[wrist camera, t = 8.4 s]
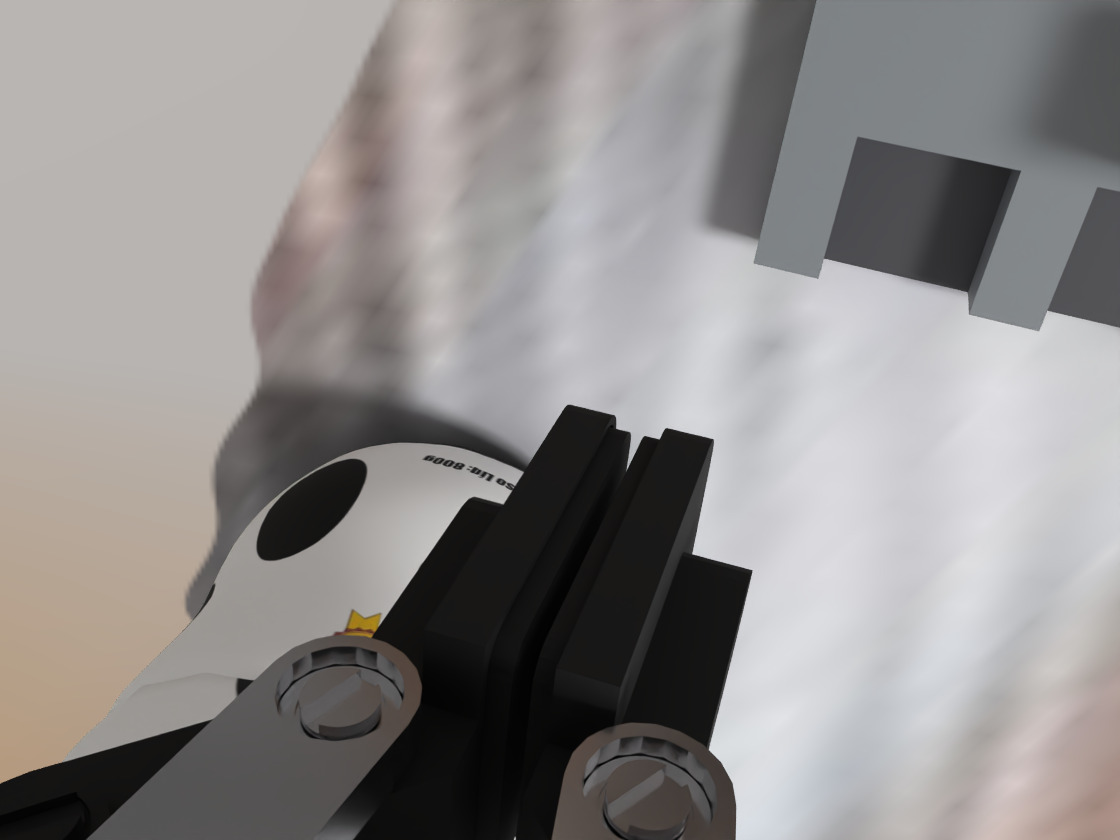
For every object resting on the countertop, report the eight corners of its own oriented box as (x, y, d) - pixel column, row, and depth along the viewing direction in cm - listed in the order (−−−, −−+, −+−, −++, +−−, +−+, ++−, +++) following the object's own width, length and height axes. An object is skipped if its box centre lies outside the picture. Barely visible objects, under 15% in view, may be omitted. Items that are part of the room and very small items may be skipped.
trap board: (854, -139, 29) (844, -134, 26) (1473, -40, 26) (1540, -21, 23) (763, 241, 35) (745, 280, 32) (1261, 358, 32) (1293, 412, 29)
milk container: (742, 537, 40) (621, 962, 25) (584, 798, 50) (428, 1220, 35) (338, 335, 42) (-5, 628, 27) (259, 628, 51) (-26, 965, 36)
